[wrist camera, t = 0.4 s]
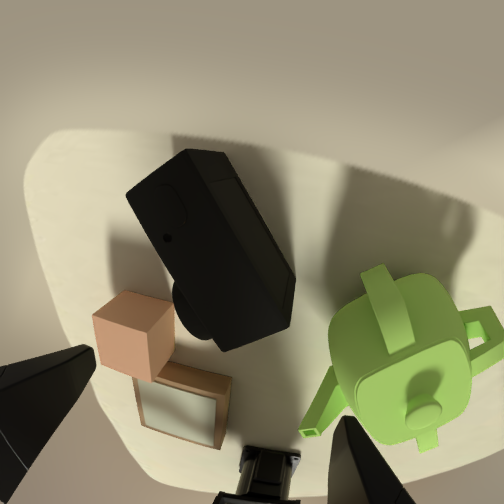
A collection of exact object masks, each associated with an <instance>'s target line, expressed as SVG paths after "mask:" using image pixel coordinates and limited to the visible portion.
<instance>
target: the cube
mask: <svg viewBox="0 0 504 504" xmlns="http://www.w3.org/2000/svg"><path fill="white" fill-rule="evenodd" d="M92 318H93V325H94V331H95V336H96V342H97V347H98V352H99V357H100V361H101V365H104V366H106V367H109V368H111V369H114V370H116V371H119V372H121V373H124V374H126V375H129V376H132V377H135V378H137V379H140V380H143V381H146V382H149V383H152V382H153V381H154V380H155V378H156V377H157V375H158V374H159V372H160V371H161V370H162V368H163V367H164V365H165V364H166V362H167V361H168V360H169V358H170V357H171V355H172V354H173V352H174V351H175V330H174V303H173V302H168V301H164V300H160V299H156V298H152V297H149V296H145V295H141V294H137V293H133V292H130V291H126V290H124V291H123V292H121V293H120V294H119V295H117V296H116V297H115V298H113V299H112V300H111V301H109V302H108V303H107V304H105V305H104V306H103V307H102V308H100V309H99V310H98V311H96V312H95V313H94V314H93V315H92Z"/></svg>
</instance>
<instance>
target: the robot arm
mask: <svg viewBox="0 0 504 504" xmlns="http://www.w3.org/2000/svg"><path fill="white" fill-rule="evenodd" d="M95 369H96V360H95V354H94V350H93V348H92V347H90V346H88V345H85V344H82V345H78V346H75V347H71V348H68V349H65V350H61V351H57V352H54V353H50V354H46V355H43V356H39V357H35V358H32V359H28V360H24V361H21V362H17V363H13V364H9V365H5V366H1V367H0V500H1V502H3V503H4V504H7V502H8V501H9V499H10V498H11V496H12V495H13V493H14V491H15V490H16V488H17V487H18V485H19V483H20V482H21V480H22V479H23V477H24V476H25V474H26V473H27V471H28V470H29V468H30V467H31V465H32V463H33V462H34V461H35V459H36V458H37V456H38V455H39V453H40V452H41V450H42V449H43V447H44V446H45V445H46V443H47V442H48V440H49V439H50V437H51V436H52V434H53V433H54V432H55V430H56V429H57V428H58V426H59V425H60V423H61V422H62V421H63V419H64V417H65V416H66V415H67V414H68V412H69V411H70V410H71V408H72V407H73V405H74V404H75V403H76V401H77V400H78V398H79V397H80V395H81V393H82V392H83V390H84V388H85V387H86V385H87V383H88V381H89V380H90V378H91V376H92V375H93V373H94V371H95ZM300 459H301V456H300V455H299V454H292V453H285V452H279V451H272V450H267V449H261V448H256V447H251V446H245V447H244V449H243V454H242V459H241V464H240V469H239V472H240V473H241V476H240V480H239V483H238V487H237V490H236V494H229V493H225V492H222V491H220V492H219V494H218V496H216V497H215V500H214V502H213V504H300V501H301V500H288V496H289V489H290V482H291V477H292V475H293V474H294V472H295V470H296V468H297V466H298V464H299V462H300ZM328 504H416V503H415V502H414V500H413V499H412V498H411V496H410V495H409V493H408V492H407V491H406V489H405V488H403V485H402V484H401V482H400V481H399V479H398V478H397V476H396V475H395V474H394V472H393V471H392V469H391V468H390V466H389V465H388V464H387V462H386V461H385V459H384V458H383V456H382V455H381V453H380V452H379V451H378V449H377V448H376V446H375V445H374V443H373V442H372V440H371V439H370V438H369V436H368V435H367V433H366V432H365V430H364V429H363V427H362V426H361V425H360V423H359V422H358V420H357V419H356V417H354V416H346V415H344V416H342V417H341V419H340V421H339V423H338V425H337V427H336V429H335V431H334V434H333V441H332V449H331V457H330V464H329V472H328Z"/></svg>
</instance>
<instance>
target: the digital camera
mask: <svg viewBox="0 0 504 504" xmlns="http://www.w3.org/2000/svg"><path fill="white" fill-rule="evenodd" d="M126 198H127V200H128V202H129V204H130V206H131V208H132V209H133V211H134V213H135V215H136V217H137V218H138V220H139V222H140V224H141V225H142V227H143V229H144V231H145V233H146V234H147V236H148V238H149V239H150V241H151V243H152V245H153V246H154V248H155V250H156V251H157V253H158V255H159V256H160V258H161V260H162V261H163V263H164V265H165V266H166V268H167V270H168V271H169V273H170V274H171V276H172V278H173V279H174V281H175V282H174V284H173V288H172V297H173V303H174V307H175V310H176V312H177V315H178V317H179V319H180V321H181V322H182V324H183V325H184V327H185V328H186V329H187V330H188V331H189V332H190V333H191V334H192V335H193V336H195V337H196V338H198V339H201V340H209V339H212V338H213V340H214V341H215V343H216V344H217V346H218V347H219V348H220V350H221V351H222V352H226V351H229V350H232V349H235V348H238V347H240V346H243V345H246V344H248V343H251V342H254V341H256V340H259V339H262V338H264V337H267V336H269V335H272V334H274V333H277V332H279V331H282V330H285V329H287V328H288V327H289V326H290V321H291V314H292V307H293V299H294V291H295V283H296V278H295V276H294V274H293V272H292V271H291V269H290V267H289V265H288V263H287V262H286V260H285V258H284V256H283V254H282V253H281V251H280V249H279V247H278V245H277V244H276V242H275V240H274V238H273V236H272V235H271V233H270V231H269V229H268V228H267V226H266V224H265V222H264V220H263V219H262V217H261V215H260V213H259V212H258V210H257V208H256V206H255V205H254V203H253V201H252V199H251V198H250V196H249V194H248V192H247V191H246V189H245V187H244V186H243V184H242V182H241V180H240V179H239V177H238V175H237V174H236V172H235V170H234V168H233V167H232V165H231V163H230V162H229V160H228V158H227V156H226V155H225V153H224V152H216V151H207V150H198V149H185V150H183V151H181V152H180V153H178V154H177V155H176V156H174V157H173V158H172V159H170V160H169V161H167V162H166V163H165V164H163V165H162V166H161V167H159V168H158V169H156V170H155V171H154V172H152V173H151V174H150V175H149V176H147V177H146V178H145V179H143V180H142V181H141V182H139V183H138V184H137V185H136V186H134V187H133V188H132V189H131V190H129V191H128V192H127V193H126Z"/></svg>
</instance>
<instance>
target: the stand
mask: <svg viewBox="0 0 504 504" xmlns="http://www.w3.org/2000/svg"><path fill="white" fill-rule="evenodd" d="M132 380H133V386H134V391H135V397H136V402H137V407H138V411H139V416H140V421H141V425H142V426H144V427H147V428H150V429H152V430H155V431H158V432H161V433H164V434H167V435H170V436H173V437H176V438H179V439H182V440H185V441H188V442H192V443H195V444H199V445H202V446H206V447H209V448H213V449H217V450H220V449H221V446H222V443H223V440H224V437H225V434H226V427H227V418H228V409H229V399H230V390H231V381H232V377H228V376H223V375H219V374H215V373H211V372H207V371H203V370H199V369H195V368H192V367H188V366H184V365H181V364H177V363H174V362H170V361H167V362H166V364H165V365H164V367H163V368H162V370H161V371H160V372H159V374H158V375H157V377H156V378H155V380H154V381H153V382H152V383H149V382H146V381H143V380H140V379H137V378H135V377H132Z"/></svg>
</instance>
